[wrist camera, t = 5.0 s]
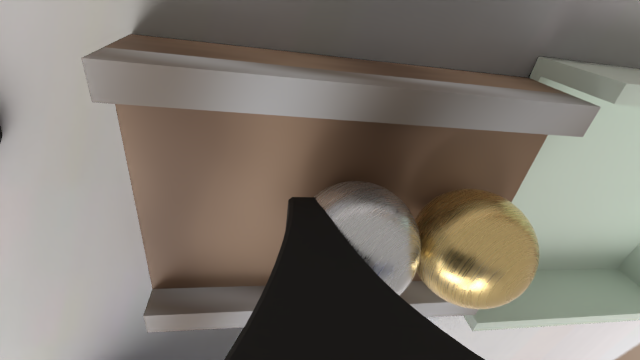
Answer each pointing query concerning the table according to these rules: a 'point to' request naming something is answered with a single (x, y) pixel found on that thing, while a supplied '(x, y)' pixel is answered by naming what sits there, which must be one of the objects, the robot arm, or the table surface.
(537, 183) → the sage tray
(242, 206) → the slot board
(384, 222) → the steel ball
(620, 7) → the table surface
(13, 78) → the table surface
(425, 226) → the brass ball
